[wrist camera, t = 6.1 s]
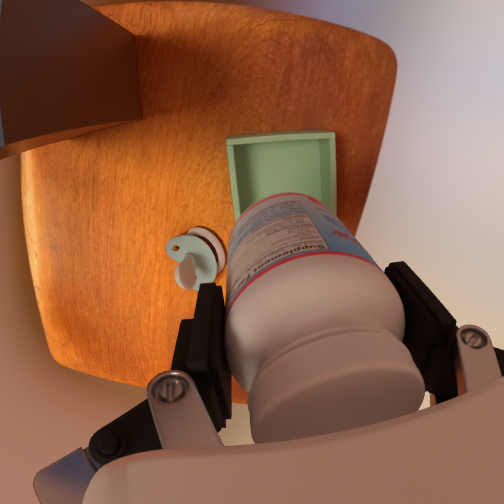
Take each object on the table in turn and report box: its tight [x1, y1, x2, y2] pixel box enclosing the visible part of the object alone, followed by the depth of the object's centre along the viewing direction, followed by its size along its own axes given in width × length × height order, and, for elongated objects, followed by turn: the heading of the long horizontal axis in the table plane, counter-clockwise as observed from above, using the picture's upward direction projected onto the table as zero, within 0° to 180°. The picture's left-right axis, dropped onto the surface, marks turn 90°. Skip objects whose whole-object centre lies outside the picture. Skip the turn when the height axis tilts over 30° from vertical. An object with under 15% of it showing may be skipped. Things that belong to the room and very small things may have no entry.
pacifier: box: [165, 227, 225, 291], centre depth 33 cm, size 7×6×6 cm
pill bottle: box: [224, 192, 425, 444], centre depth 11 cm, size 6×6×11 cm
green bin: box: [226, 129, 337, 223], centre depth 30 cm, size 10×10×5 cm
